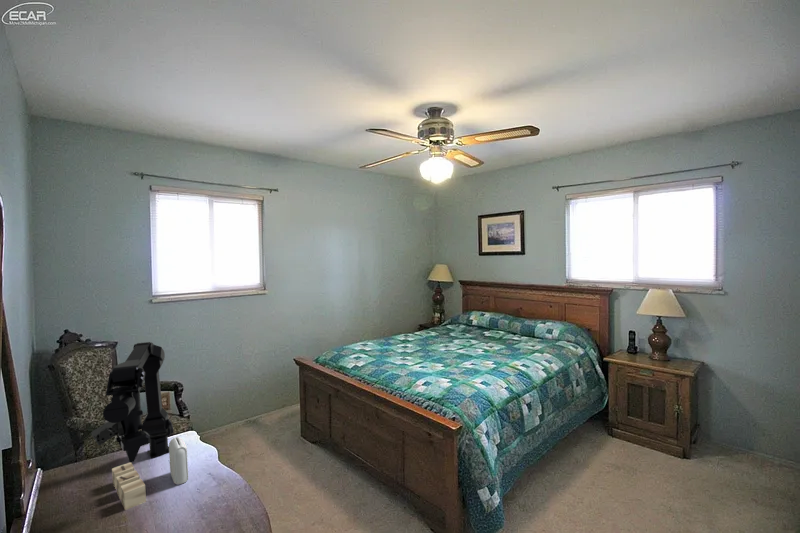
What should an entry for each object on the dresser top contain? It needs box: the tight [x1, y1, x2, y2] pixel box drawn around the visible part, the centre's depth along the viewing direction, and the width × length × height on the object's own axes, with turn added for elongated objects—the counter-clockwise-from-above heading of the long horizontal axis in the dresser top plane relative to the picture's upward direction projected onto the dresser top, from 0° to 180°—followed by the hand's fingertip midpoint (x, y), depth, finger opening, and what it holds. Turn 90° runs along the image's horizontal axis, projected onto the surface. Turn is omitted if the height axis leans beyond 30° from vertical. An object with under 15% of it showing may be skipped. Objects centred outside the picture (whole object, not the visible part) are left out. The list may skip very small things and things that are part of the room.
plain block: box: [120, 478, 147, 511], centre depth 110 cm, size 5×5×5 cm
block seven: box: [116, 469, 141, 501], centre depth 115 cm, size 5×5×5 cm
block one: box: [111, 462, 135, 489], centre depth 120 cm, size 5×5×5 cm
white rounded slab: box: [168, 436, 189, 485], centre depth 122 cm, size 10×4×12 cm, turn 39°
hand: (131, 461), depth 110 cm, fingers closed
